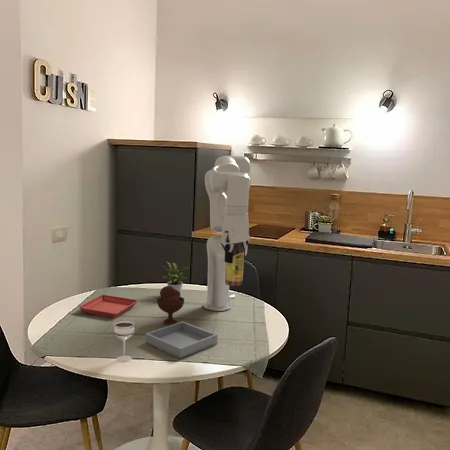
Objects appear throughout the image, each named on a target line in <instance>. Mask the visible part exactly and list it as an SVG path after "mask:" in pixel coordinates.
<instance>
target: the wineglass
mask: <svg viewBox="0 0 450 450" xmlns="http://www.w3.org/2000/svg"><path fill="white" fill-rule="evenodd" d="M113 325H114V328H113V334H114V336H115V337H117V339H119V340H121V341H122V348H123V350H122V351H123V353H122V355H120V356H117V357H116V361H117V362H121V363H126V362H130V361H131V360H132V359H133V357H132V356H130V355H128V354H127V355H125V354H126V341H127V340H128V339H131V337H132V336H134V335H135V329H136V328H135V325H136V323H135V322H134V321H133V320H129V319H121V320H116V321H115V322H114V324H113Z"/></svg>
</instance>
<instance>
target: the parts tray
mask: <svg viewBox="0 0 450 450" xmlns="http://www.w3.org/2000/svg"><path fill="white" fill-rule="evenodd" d="M144 335H145V338H144V339H145V340H144V343H145V344H147V345H149V346H151V347H153V348H155V349H158V350H159V351H162V352H165V353H166V354H169V355H171V356H172V357H175V358H177V359H179V360H182V359H184V358H186V357H189V356H191V355H194V354H196V353H198V352H201V351H203V350H206V349H208V348H211V347H212V346H215V345H218V334H216V333H214V332H211V331H210V330H209V331H208V330H206V329H205V328H202V327H200V326H199V327H198V326H197V325H193V324H191V323H187V322H186V321H178V322H177V323H176V324H173V325H166V326H165V327H161V328H157V329H155V330H151V331H150V332H146V333H145V334H144Z"/></svg>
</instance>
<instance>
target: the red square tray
mask: <svg viewBox="0 0 450 450" xmlns="http://www.w3.org/2000/svg"><path fill="white" fill-rule="evenodd" d="M138 301H139V300H138V299H134V298H126V297H121V296H115V295H107V294H101V295H99V296H96V297H95V298H93V299H91V300H89V301H87V302H85V303H84V304H83V303H82V304H81V305H79V306H78V308H79V310H81V312H83V313H84V314H89V315H96V316H101V317H106V318H112V319H116V318H118V317H119V316H121V315H122V314H124V313H126V312H127V311H129V310H131V309H133V307H134V306H135V305H136V304H137V303H138Z"/></svg>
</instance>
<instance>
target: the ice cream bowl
mask: <svg viewBox="0 0 450 450" xmlns="http://www.w3.org/2000/svg"><path fill="white" fill-rule="evenodd" d="M159 295H160V296H159V297H157V298H156V303H157V306H158V308H159V309H160V310H161V311H162V312H164V313H166V314H167V315H168V316H167V318H165V319H164V320H163V323H162V324H165V325H166V326H170V325H173V324H176V323H178V321H177V320H176V319H175V318H173V315H174V314H175V313H176V312H178V311H180V310H181V309H183V306H184V304H185V298H184V297H182V296H181V294H180V292H179V291H177V290H176V289H174V288H173V287H171V286H168V285H166V286H164V287H162V288H161V290H160V291H159Z"/></svg>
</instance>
